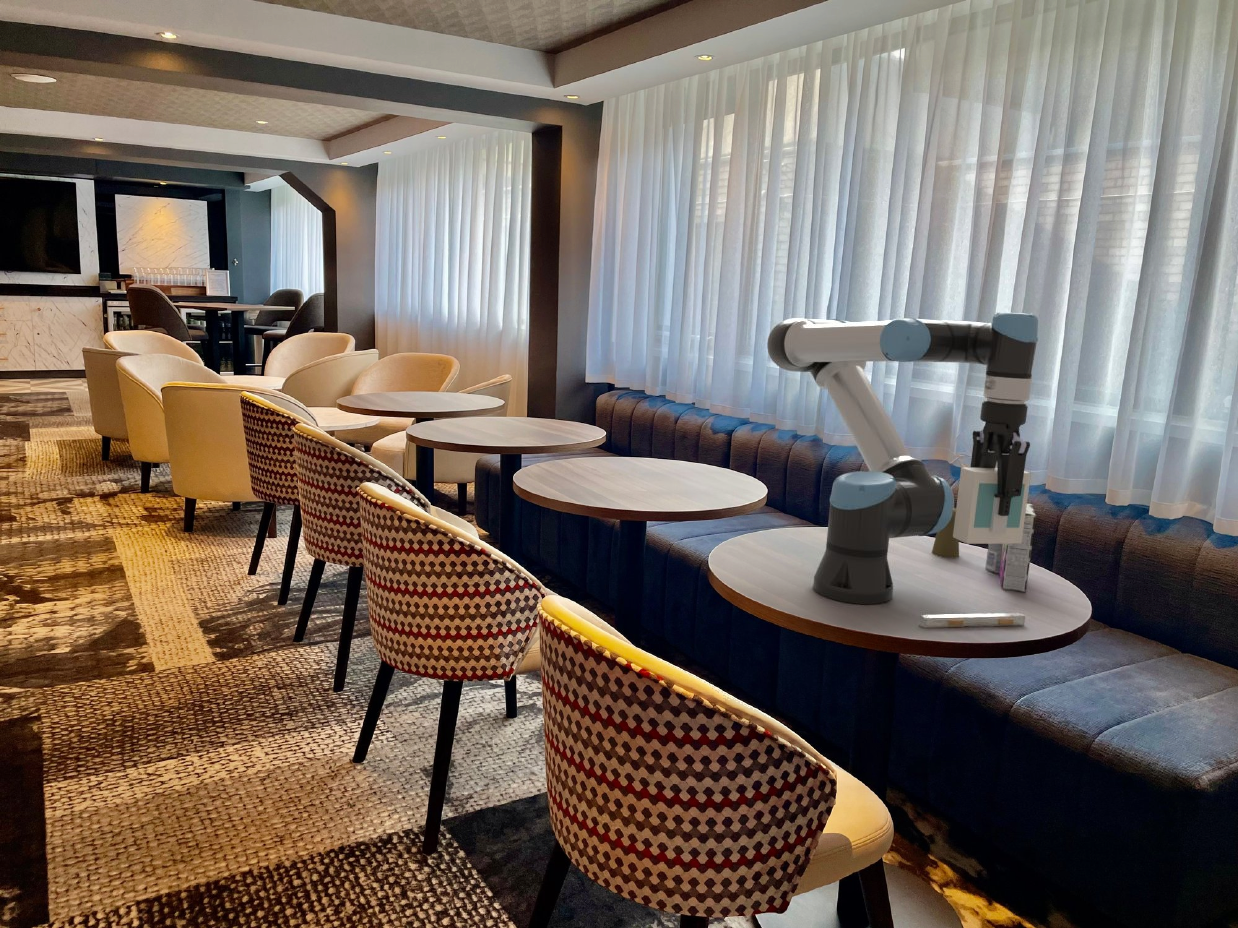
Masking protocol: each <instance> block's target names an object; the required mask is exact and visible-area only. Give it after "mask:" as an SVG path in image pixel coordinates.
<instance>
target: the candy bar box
mask: <svg viewBox="0 0 1238 928" xmlns="http://www.w3.org/2000/svg"><path fill="white" fill-rule="evenodd" d="M1036 517H1037V514H1036V512H1035V509H1034V505H1033V503H1032V504H1031V503H1027V506H1026V513H1025V521H1024V528H1023V536H1022V543H1004V544H1003V549H1002V557H1001V566H1000V574H999V579H1000V585H1001V590H1006V591H1007V590H1008V591H1012V590H1013V592H1021V593H1026V592H1027V585H1028V578H1029V572H1030V564H1031V557H1032V549H1033V540H1034V532H1035V524H1036Z"/></svg>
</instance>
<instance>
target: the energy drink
mask: <svg viewBox="0 0 1238 928" xmlns="http://www.w3.org/2000/svg"><path fill="white" fill-rule="evenodd" d="M987 546H988V547H987V552H986V553H987V555H986V562H985V569H986V570H987V571H988V572H990V571H991V573H993V572H995V573H994V574H1000V566H1001V557H1002V549H1003V544H988V545H987Z"/></svg>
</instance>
